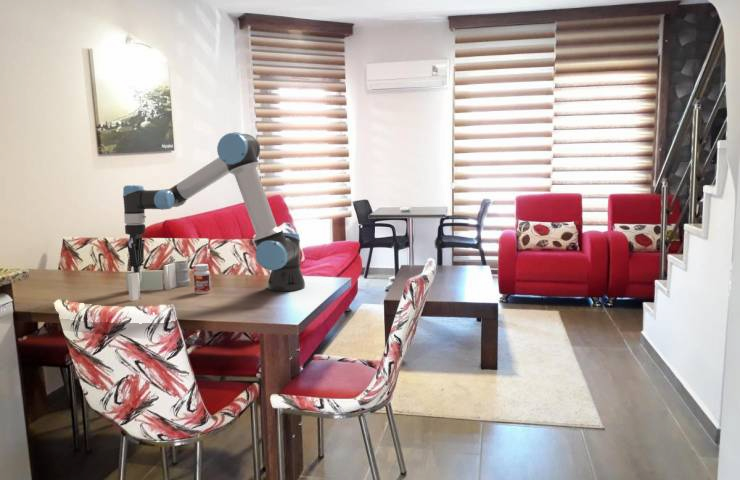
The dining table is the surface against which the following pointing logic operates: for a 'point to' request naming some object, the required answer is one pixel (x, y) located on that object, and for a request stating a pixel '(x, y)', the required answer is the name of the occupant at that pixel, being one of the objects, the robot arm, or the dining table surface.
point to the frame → (135, 284)
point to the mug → (181, 272)
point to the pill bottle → (202, 279)
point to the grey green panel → (149, 280)
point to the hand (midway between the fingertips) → (138, 282)
